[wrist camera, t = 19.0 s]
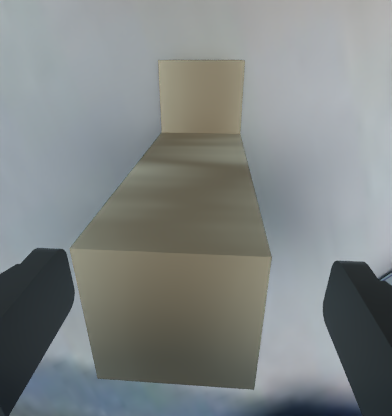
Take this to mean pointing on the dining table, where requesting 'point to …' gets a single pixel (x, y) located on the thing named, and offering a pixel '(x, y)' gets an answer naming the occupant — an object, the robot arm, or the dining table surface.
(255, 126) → the dining table surface
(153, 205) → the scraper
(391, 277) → the medicine box
